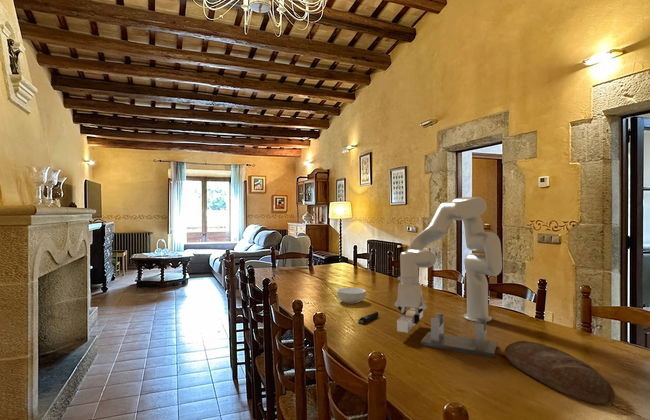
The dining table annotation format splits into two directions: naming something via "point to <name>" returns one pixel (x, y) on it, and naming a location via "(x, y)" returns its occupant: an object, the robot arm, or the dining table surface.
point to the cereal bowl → (351, 295)
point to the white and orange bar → (407, 320)
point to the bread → (560, 371)
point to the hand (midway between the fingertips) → (410, 322)
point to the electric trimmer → (368, 318)
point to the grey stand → (459, 339)
